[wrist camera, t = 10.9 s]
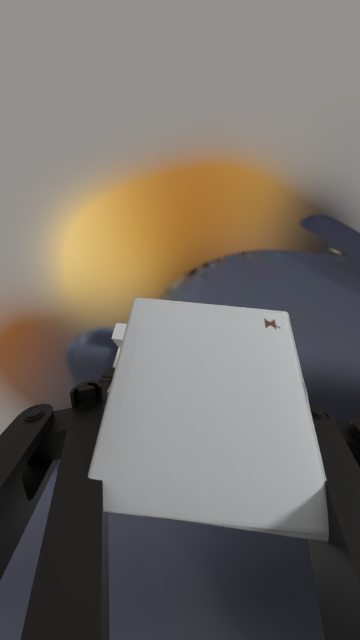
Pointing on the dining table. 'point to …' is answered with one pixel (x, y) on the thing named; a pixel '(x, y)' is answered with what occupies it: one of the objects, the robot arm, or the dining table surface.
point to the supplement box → (211, 422)
